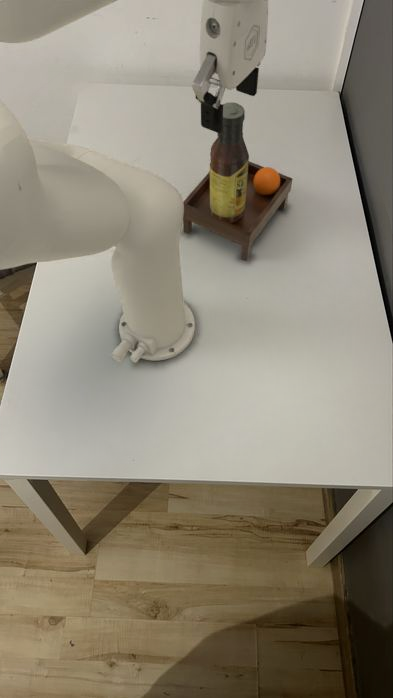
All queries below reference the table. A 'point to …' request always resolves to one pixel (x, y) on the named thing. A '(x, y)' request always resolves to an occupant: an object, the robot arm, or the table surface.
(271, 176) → the clementine
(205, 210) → the tray
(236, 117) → the sauce bottle
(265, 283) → the table surface
